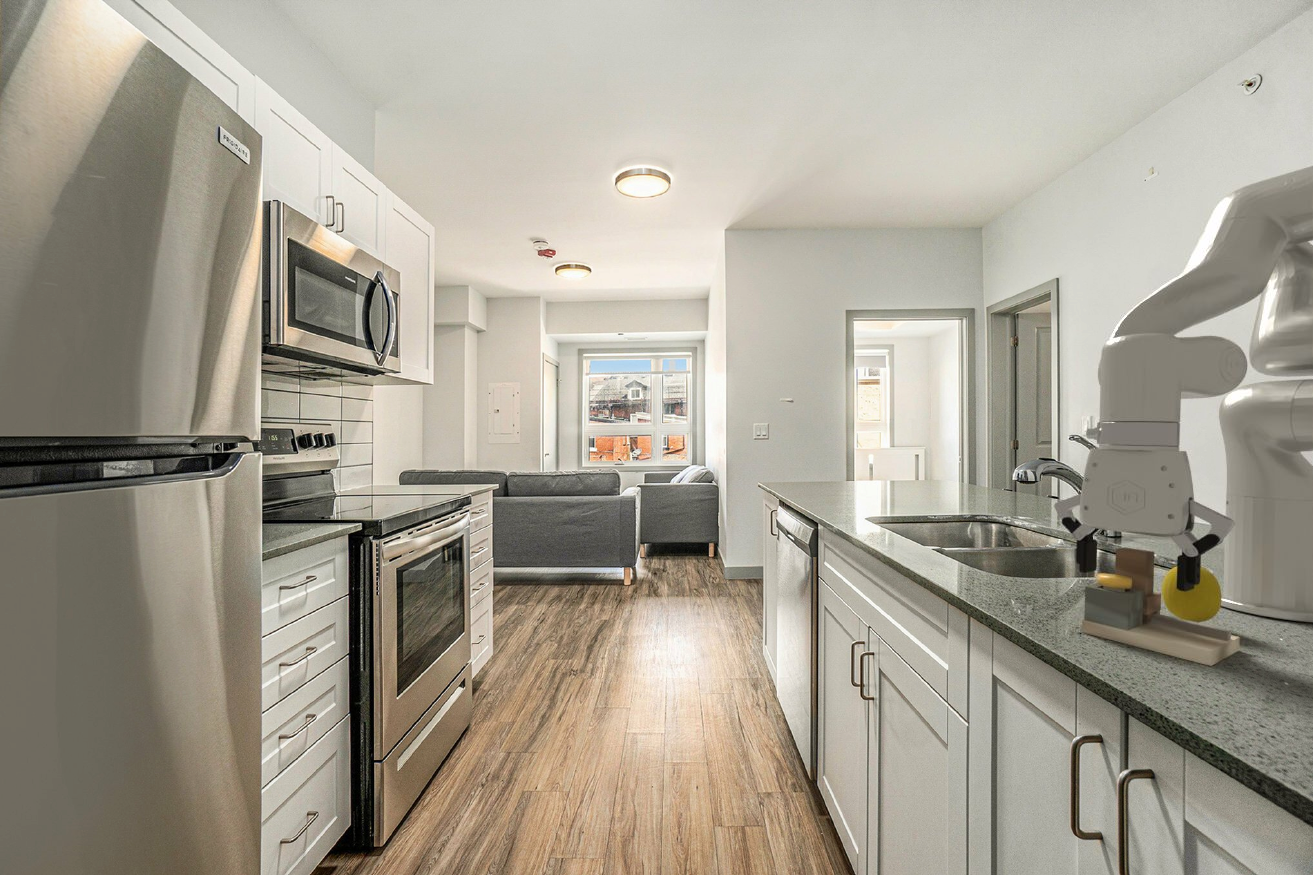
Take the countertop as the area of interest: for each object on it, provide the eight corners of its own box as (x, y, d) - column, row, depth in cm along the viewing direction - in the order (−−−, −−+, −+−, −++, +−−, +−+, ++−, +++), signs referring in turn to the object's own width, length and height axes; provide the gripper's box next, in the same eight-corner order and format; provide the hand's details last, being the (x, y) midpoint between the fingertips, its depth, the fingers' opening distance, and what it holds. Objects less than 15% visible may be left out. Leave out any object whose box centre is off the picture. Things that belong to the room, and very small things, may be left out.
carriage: (1120, 608, 73) (1122, 545, 73) (1160, 616, 70) (1162, 551, 70) (1106, 612, 71) (1108, 548, 71) (1146, 621, 68) (1148, 554, 68)
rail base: (1114, 621, 74) (1115, 577, 74) (1239, 650, 65) (1240, 600, 65) (1081, 632, 70) (1083, 586, 70) (1211, 665, 60) (1212, 612, 60)
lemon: (1232, 635, 70) (1234, 568, 70) (1178, 630, 71) (1181, 565, 71) (1200, 621, 75) (1202, 558, 75) (1150, 617, 76) (1152, 555, 76)
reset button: (1103, 613, 71) (1104, 572, 71) (1135, 621, 68) (1136, 578, 68) (1091, 617, 69) (1092, 575, 69) (1123, 625, 67) (1125, 581, 66)
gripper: (1044, 436, 76) (1040, 568, 76) (1224, 439, 61) (1219, 602, 61) (1071, 437, 80) (1068, 562, 80) (1247, 440, 65) (1242, 593, 65)
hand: (1133, 580), depth 71 cm, fingers open, 9 cm apart
